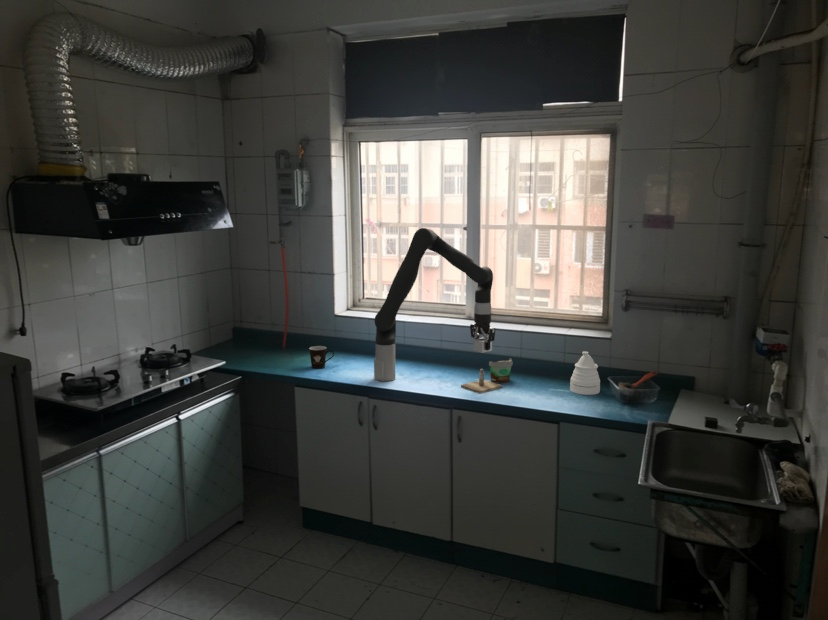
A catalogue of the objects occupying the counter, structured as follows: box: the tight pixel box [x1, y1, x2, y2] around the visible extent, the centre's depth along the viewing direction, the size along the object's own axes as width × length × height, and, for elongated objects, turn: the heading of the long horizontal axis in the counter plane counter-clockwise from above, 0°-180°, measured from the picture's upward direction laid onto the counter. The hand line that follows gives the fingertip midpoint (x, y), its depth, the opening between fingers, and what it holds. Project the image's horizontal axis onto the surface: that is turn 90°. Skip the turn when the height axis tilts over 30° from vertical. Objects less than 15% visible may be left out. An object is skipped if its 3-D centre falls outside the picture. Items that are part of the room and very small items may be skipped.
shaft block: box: [460, 368, 503, 394], centre depth 292 cm, size 14×12×8 cm
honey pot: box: [569, 351, 601, 396], centre depth 287 cm, size 13×13×18 cm
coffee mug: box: [308, 345, 335, 370], centre depth 324 cm, size 12×9×10 cm
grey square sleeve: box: [472, 336, 493, 354], centre depth 290 cm, size 6×6×5 cm
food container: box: [488, 357, 514, 384], centre depth 301 cm, size 12×6×10 cm, turn 117°
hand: (482, 348), depth 290 cm, fingers closed on grey square sleeve, 6 cm apart
